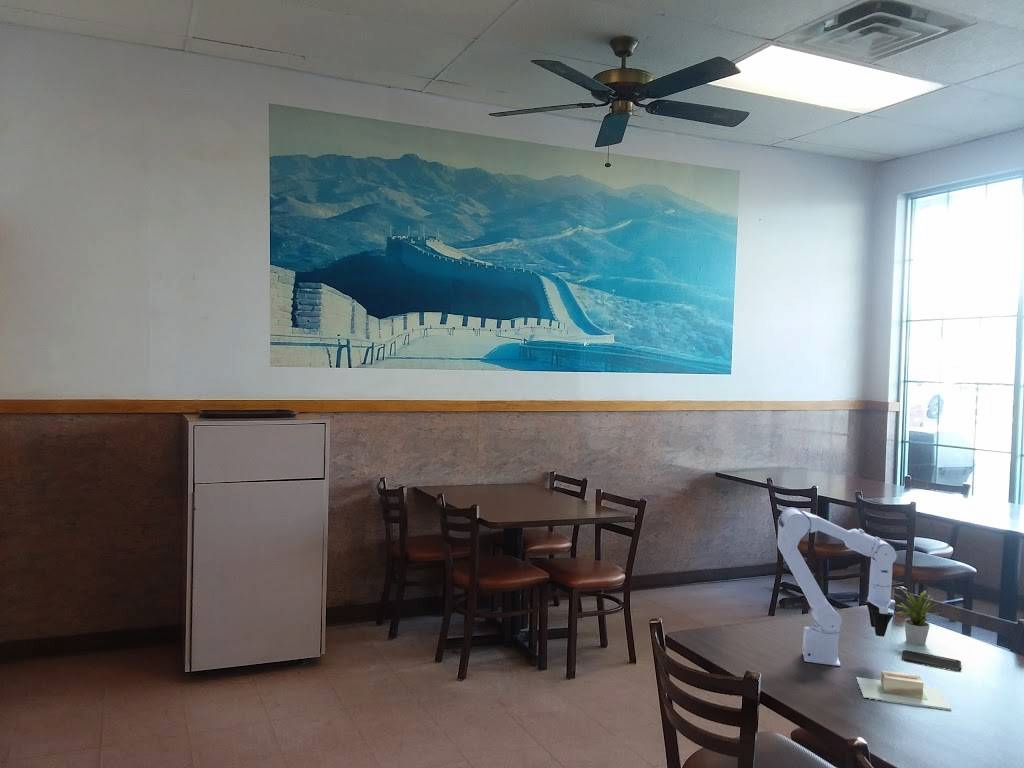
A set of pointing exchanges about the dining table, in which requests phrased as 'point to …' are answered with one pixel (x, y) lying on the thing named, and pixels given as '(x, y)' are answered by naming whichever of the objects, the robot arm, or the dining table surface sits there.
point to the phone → (931, 660)
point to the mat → (930, 696)
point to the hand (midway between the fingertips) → (877, 631)
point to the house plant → (916, 619)
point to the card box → (902, 684)
